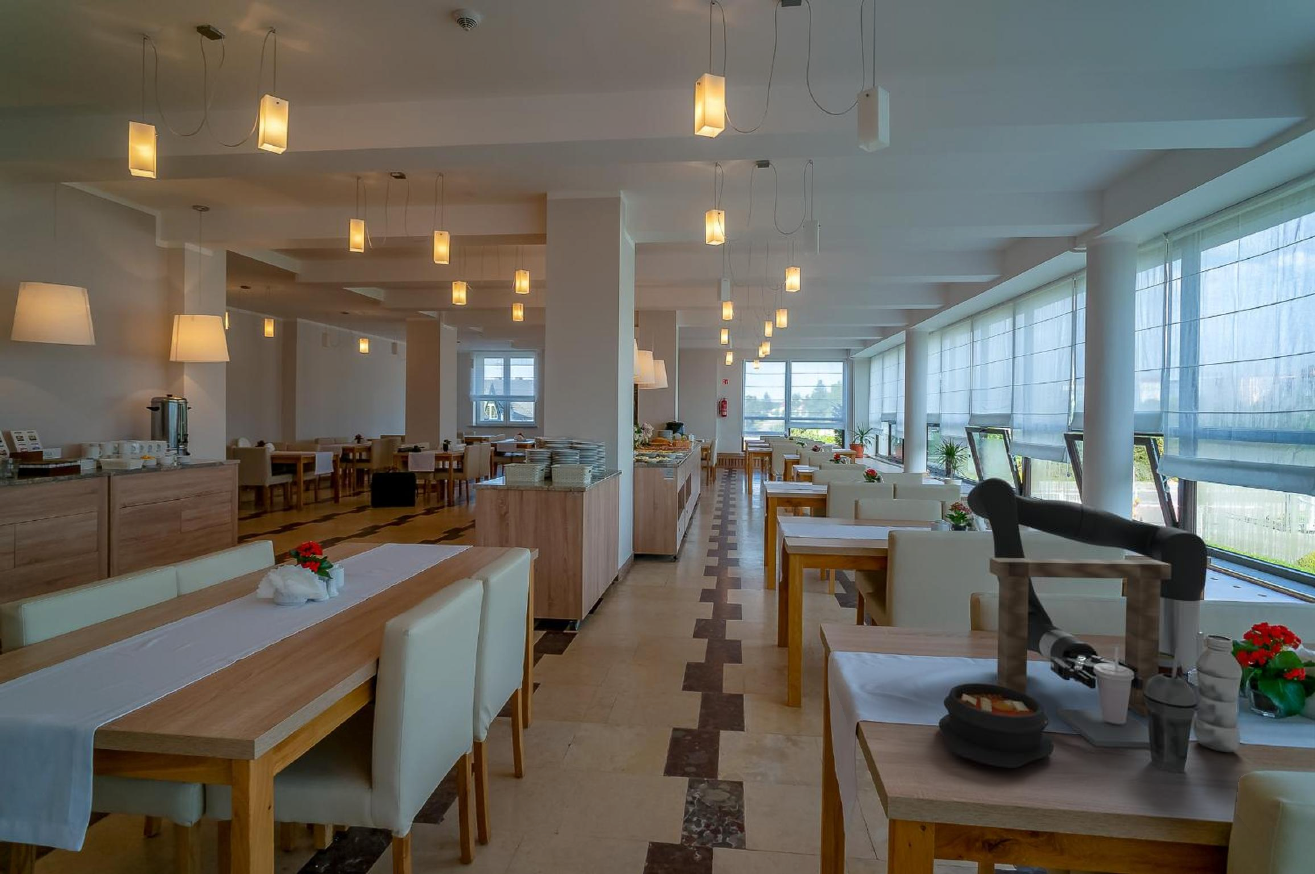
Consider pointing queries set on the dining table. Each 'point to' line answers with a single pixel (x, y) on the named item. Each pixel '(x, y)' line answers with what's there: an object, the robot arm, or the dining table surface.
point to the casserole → (995, 725)
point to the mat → (1106, 729)
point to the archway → (1137, 572)
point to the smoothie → (1113, 689)
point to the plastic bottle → (1218, 696)
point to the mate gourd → (1168, 664)
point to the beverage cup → (1169, 719)
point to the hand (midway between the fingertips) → (1117, 684)
